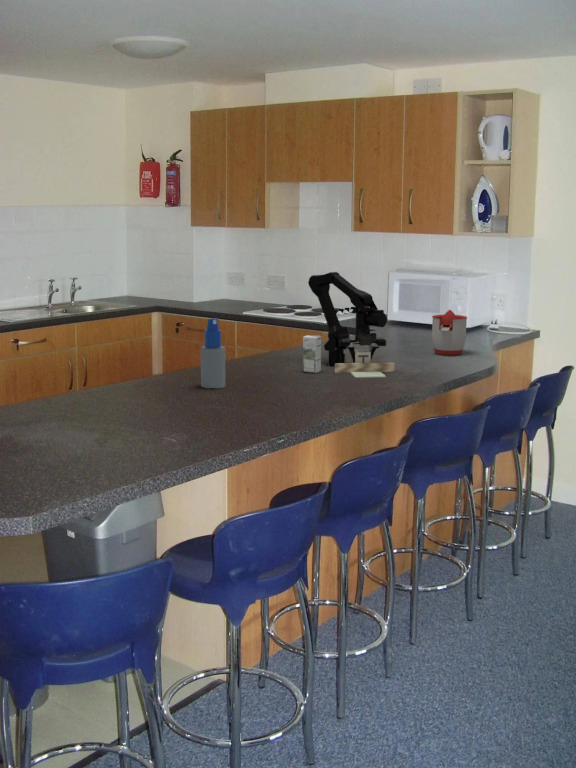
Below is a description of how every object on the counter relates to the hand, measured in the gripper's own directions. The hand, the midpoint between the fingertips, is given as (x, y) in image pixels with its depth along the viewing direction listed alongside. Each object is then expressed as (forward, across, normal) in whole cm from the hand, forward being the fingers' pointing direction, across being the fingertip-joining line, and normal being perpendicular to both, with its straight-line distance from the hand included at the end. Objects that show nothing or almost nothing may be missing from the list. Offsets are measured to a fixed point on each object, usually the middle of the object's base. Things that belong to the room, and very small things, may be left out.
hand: (361, 362), depth 357 cm
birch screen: (+2, 0, -6) cm, 7 cm away
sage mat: (+2, 0, -14) cm, 14 cm away
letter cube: (+1, 0, 0) cm, 1 cm away
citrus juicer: (+3, +46, +34) cm, 57 cm away
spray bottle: (+3, -61, -30) cm, 68 cm away
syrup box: (+3, -21, -4) cm, 22 cm away
